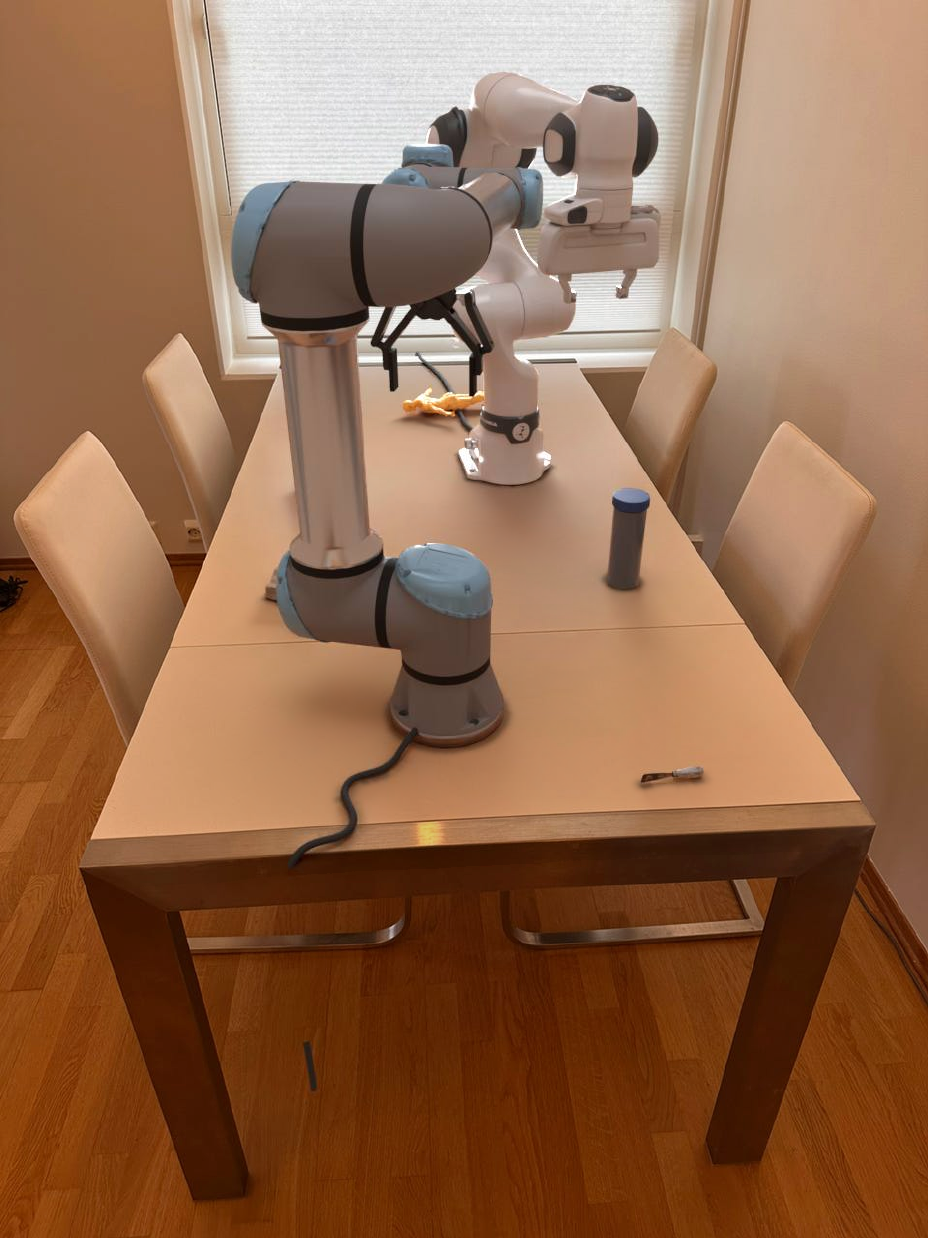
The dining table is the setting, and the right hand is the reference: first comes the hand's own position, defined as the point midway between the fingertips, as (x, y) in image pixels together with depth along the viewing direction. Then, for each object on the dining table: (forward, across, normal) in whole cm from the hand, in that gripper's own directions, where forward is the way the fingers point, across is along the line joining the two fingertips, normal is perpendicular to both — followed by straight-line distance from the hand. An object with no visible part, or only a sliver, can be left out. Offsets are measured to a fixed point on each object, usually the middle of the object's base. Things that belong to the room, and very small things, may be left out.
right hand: (595, 300), depth 145 cm
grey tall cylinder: (+42, +2, +20) cm, 46 cm away
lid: (+26, +2, +20) cm, 33 cm away
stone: (+42, +53, +7) cm, 68 cm away
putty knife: (+42, +20, +66) cm, 81 cm away
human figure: (+42, 0, -73) cm, 84 cm away
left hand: (+14, +26, -5) cm, 30 cm away
